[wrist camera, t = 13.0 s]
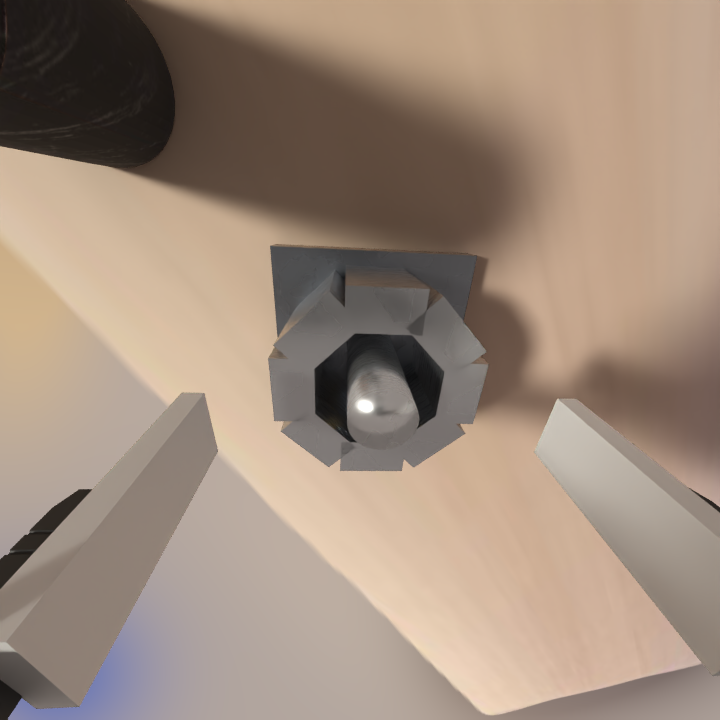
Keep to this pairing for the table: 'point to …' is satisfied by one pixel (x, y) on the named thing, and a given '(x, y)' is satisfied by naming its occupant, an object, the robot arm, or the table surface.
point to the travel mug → (82, 82)
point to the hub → (424, 375)
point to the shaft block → (370, 351)
